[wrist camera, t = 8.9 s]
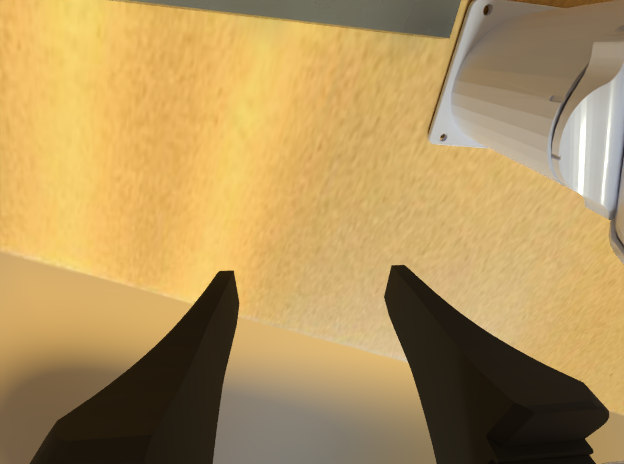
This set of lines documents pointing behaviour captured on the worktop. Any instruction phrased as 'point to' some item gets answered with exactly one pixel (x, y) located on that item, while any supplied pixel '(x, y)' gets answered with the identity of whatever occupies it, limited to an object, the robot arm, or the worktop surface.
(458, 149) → the worktop surface
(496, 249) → the worktop surface
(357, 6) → the shaft mount
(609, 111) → the robot arm
